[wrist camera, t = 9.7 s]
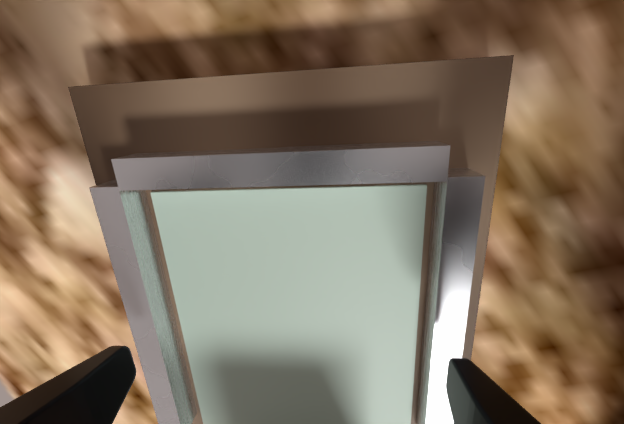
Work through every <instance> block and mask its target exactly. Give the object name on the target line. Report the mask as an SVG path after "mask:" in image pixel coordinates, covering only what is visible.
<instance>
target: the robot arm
mask: <svg viewBox="0 0 624 424" xmlns="http://www.w3.org/2000/svg"><path fill="white" fill-rule="evenodd" d="M135 376H136V368H135V364H134V361H133V358H132V354H131V351H130V349H129V348H128V347H126V346H111V347H109V348H107V349H105V350H103V351H101V352H100V353H98V354H96V355H94V356H92V357H91V358H89V359H87V360H85V361H83V362H81V363H80V364H78V365H76V366H74V367H72V368H71V369H69V370H67V371H65V372H63V373H62V374H60V375H58V376H56V377H54V378H53V379H51V380H49V381H47V382H45V383H43V384H42V385H40V386H38V387H36V388H34V389H33V390H31V391H29V392H27V393H25V394H24V395H22V396H20V397H18V398H16V399H14V400H13V401H11V402H9V403H8V404H5V405H4V406H2V407H0V424H112V423H113V421H114V419H115V417H116V415H117V413H118V411H119V409H120V407H121V405H122V403H123V401H124V399H125V397H126V395H127V393H128V391H129V389H130V387H131V385H132V383H133V381H134V379H135ZM446 392H447V397H448V401H449V405H450V409H451V413H452V418H453V422H454V424H541V423H540V422H539V421H537V420H536V419H535V418H534V417H533V416H532V415H531V414H530V413H529V412H527V411H526V410H525V409H524V408H523V407H522V406H521V405H520V404H519V403H517V402H516V401H515V400H514V399H513V398H512V397H511V396H510V395H508V394H507V393H506V392H505V391H504V390H503V389H502V388H501V387H500V386H498V385H497V384H496V383H495V382H494V381H493V380H492V379H491V378H490V377H488V376H487V375H486V374H485V373H484V372H483V371H482V370H481V369H480V368H478V367H477V366H476V365H475V364H474V363H473V362H472V361H471V360H469V359H467V358H450V359H449V362H448V369H447V378H446Z"/></svg>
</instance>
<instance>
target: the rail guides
mask: <svg viewBox="0 0 624 424" xmlns="http://www.w3.org/2000/svg"><path fill="white" fill-rule="evenodd" d="M449 156H450V145H448V144H445V143H442V142H440V141H419V142H395V143H372V144H348V145H325V146H301V147H277V148H254V149H230V150H206V151H183V152H159V153H137V154H132V155H128V156H123V157H119V158H114V159H111V161H112V165H113V169H114V173H115V177H116V180H112V181H109V182H106V183H103V184H100V185H96V186H93V187H90V191H91V195H92V198H93V201H94V205H95V208H96V212H97V215H98V218H99V222H100V225H101V229H102V232H103V236H104V239H105V242H106V246H107V249H108V253H109V256H110V260H111V263H112V266H113V270H114V273H115V277H116V280H117V283H118V287H119V290H120V294H121V297H122V301H123V304H124V307H125V311H126V314H127V318H128V321H129V324H130V328H131V331H132V335H133V338H134V342H135V345H136V348H137V352H138V355H139V359H140V362H141V365H142V369H143V372H144V376H145V379H146V383H147V386H148V389H149V393H150V396H151V400H152V403H153V406H154V410H155V413H156V417H157V420H158V424H192V422H193V420H194V418H195V416H196V414H197V409H196V404H195V400H194V396H193V391H192V387H191V383H190V379H189V374H188V370H187V366H186V361H185V357H184V353H183V349H182V344H181V340H180V336H179V331H178V327H177V323H176V319H175V314H174V310H173V306H172V301H171V297H170V293H169V289H168V284H167V280H166V276H165V271H164V267H163V263H162V259H161V254H160V250H159V246H158V241H157V237H156V233H155V228H154V224H153V220H152V216H151V211H150V207H149V203H148V198H147V194H146V190H162V189H198V188H235V187H271V186H307V185H344V184H380V183H416V182H434V192H433V206H432V219H431V232H430V245H429V259H428V272H427V285H426V298H425V312H424V325H423V338H422V351H421V365H420V378H419V391H418V404H417V418H416V424H454V422H453V418H452V413H451V409H450V405H449V401H448V397H447V392H446V378H447V369H448V362H449V359H450V358H462V354H463V347H464V339H465V331H466V323H467V316H468V308H469V300H470V292H471V285H472V277H473V269H474V261H475V254H476V246H477V238H478V230H479V223H480V215H481V207H482V199H483V192H484V184H485V176H484V175H482V174H480V173H478V172H476V171H474V170H472V169H470V168H448V167H449Z"/></svg>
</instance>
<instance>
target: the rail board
mask: <svg viewBox="0 0 624 424" xmlns="http://www.w3.org/2000/svg"><path fill="white" fill-rule="evenodd" d="M513 56H514V55H511V56H497V57H483V58H469V59H455V60H440V61H426V62H412V63H398V64H384V65H370V66H356V67H342V68H328V69H314V70H300V71H286V72H272V73H258V74H244V75H229V76H215V77H201V78H187V79H173V80H159V81H145V82H131V83H117V84H103V85H89V86H75V87H68V88H69V91H70V95H71V98H72V102H73V105H74V109H75V112H76V116H77V120H78V123H79V127H80V130H81V134H82V137H83V141H84V144H85V148H86V151H87V155H88V158H89V162H90V165H91V169H92V172H93V176H94V179H95V183H96V185H100V184H103V183H106V182H109V181H112V180H116V177H115V173H114V169H113V165H112V161H111V159H114V158H119V157H123V156H128V155H132V154H137V153H159V152H183V151H206V150H230V149H254V148H277V147H301V146H325V145H348V144H372V143H395V142H419V141H440V142H442V143H445V144H448V145H450V156H449V167H448V168H470V169H472V170H474V171H476V172H478V173H480V174H482V175H484V176H485V184H484V192H483V199H482V207H481V215H480V223H479V230H478V238H477V246H476V254H475V261H474V269H473V277H472V285H471V292H470V300H469V308H468V316H467V323H466V331H465V339H464V347H463V354H462V358H467V359H469V360H471V355H472V348H473V340H474V333H475V326H476V319H477V312H478V305H479V298H480V291H481V284H482V277H483V269H484V262H485V255H486V248H487V241H488V234H489V227H490V220H491V213H492V206H493V198H494V191H495V184H496V177H497V170H498V163H499V156H500V149H501V142H502V135H503V127H504V120H505V113H506V106H507V99H508V92H509V85H510V78H511V71H512V64H513ZM433 192H434V182H416V183H380V184H344V185H307V186H271V187H235V188H198V189H162V190H146V194H147V198H148V203H149V207H150V211H151V216H152V220H153V224H154V228H155V233H156V237H157V241H158V246H159V250H160V254H161V259H162V263H163V267H164V271H165V276H166V280H167V284H168V289H169V293H170V297H171V301H172V306H173V310H174V314H175V319H176V323H177V327H178V331H179V336H180V340H181V344H182V349H183V353H184V357H185V361H186V366H187V370H188V374H189V379H190V383H191V387H192V391H193V396H194V400H195V404H196V409H197V414H196V416H195V418H194V420H193V422H192V424H416V418H417V404H418V391H419V378H420V365H421V351H422V338H423V325H424V312H425V298H426V285H427V272H428V259H429V245H430V232H431V219H432V206H433Z"/></svg>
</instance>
